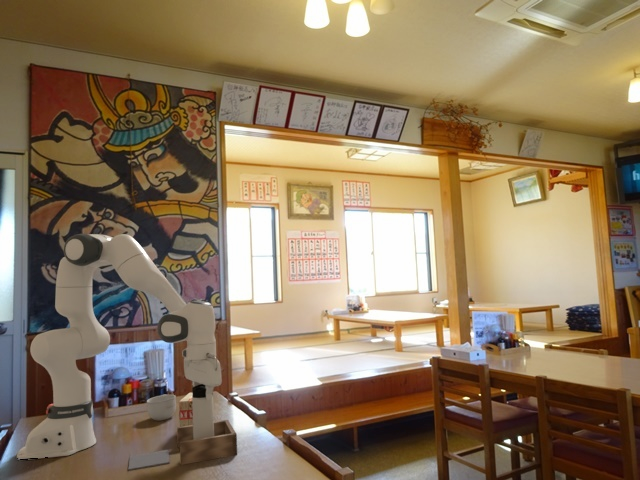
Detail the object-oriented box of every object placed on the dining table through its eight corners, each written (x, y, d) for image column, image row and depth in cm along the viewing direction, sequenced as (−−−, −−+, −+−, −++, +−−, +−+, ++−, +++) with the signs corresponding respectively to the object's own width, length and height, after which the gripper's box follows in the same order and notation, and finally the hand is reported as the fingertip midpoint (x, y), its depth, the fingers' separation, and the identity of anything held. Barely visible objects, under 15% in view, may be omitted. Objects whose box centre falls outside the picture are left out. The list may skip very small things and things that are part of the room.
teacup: (170, 421, 174) (170, 400, 175) (142, 423, 174) (142, 401, 175) (182, 411, 188) (181, 391, 189) (156, 412, 188) (155, 393, 189)
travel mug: (218, 447, 143) (217, 382, 145) (207, 455, 137) (205, 387, 139) (201, 446, 145) (200, 382, 147) (189, 454, 139) (187, 386, 141)
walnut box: (180, 464, 131) (180, 443, 132) (177, 446, 146) (177, 427, 147) (237, 454, 137) (236, 433, 137) (228, 438, 152) (227, 419, 153)
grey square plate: (128, 470, 129) (128, 469, 129) (130, 457, 139) (130, 456, 139) (169, 463, 133) (169, 461, 133) (168, 450, 143) (168, 449, 143)
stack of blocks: (196, 419, 177) (196, 386, 178) (213, 418, 177) (212, 385, 178) (179, 437, 155) (178, 400, 157) (197, 437, 155) (196, 399, 157)
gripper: (226, 353, 138) (227, 400, 137) (198, 348, 154) (199, 390, 153) (206, 356, 134) (208, 405, 133) (180, 350, 150) (181, 394, 149)
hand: (203, 397), depth 143 cm, fingers closed on travel mug, 6 cm apart
